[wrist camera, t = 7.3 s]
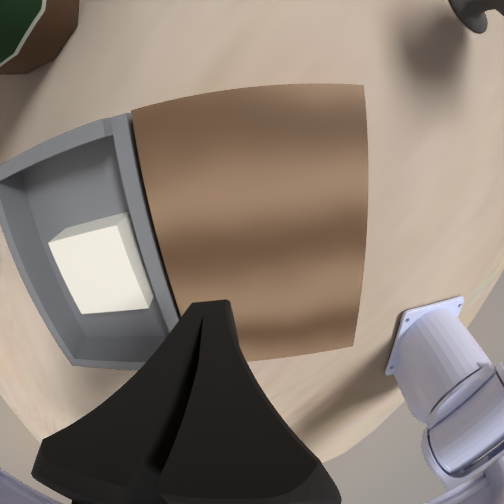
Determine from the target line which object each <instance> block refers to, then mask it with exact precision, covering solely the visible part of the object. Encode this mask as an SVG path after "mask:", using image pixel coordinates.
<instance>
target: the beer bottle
mask: <svg viewBox="0 0 504 504" xmlns="http://www.w3.org/2000/svg"><path fill="white" fill-rule="evenodd" d="M78 11H79V0H0V75H3V74H6V75H12V74H27V73H28V72H30V71H32V70H33V69H35V68H37V67H39V66H40V65H42V64H44V63H46V62H48V61H50V60H52V59H53V58H55V57H56V56H57V55H58V53H59V51H60V50H61V48H62V47H63V45H64V44H65V42H66V41H67V39H68V38H69V36H70V35H71V34H72V32H73V31H74V29H75V28H76V27H77V25H78Z"/></svg>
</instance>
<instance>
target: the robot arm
mask: <svg viewBox="0 0 504 504" xmlns="http://www.w3.org/2000/svg"><path fill="white" fill-rule="evenodd" d="M463 302H464V298H463V297H462V296H458V297H455V298H452V299H448V300H444V301H441V302H437V303H433V304H430V305H426V306H422V307H418V308H414V309H410V310H406V311H405V312H404V313H403V315H402V318H401V322H400V326H399V329H398V333H397V336H396V339H395V343H394V346H393V349H392V352H391V355H390V358H389V361H388V364H387V367H386V370H385V374H386V375H387V376H388V375H392V374H393V375H394V377H395V379H396V381H397V383H398V385H399V388H400V390H401V392H402V394H403V397H404V399H405V401H406V403H407V406H408V408H409V410H410V412H411V414H412V415H413V416H414V417H415V418H416V419H418V420H419V421H421V422H423V423H426V424H427V426H428V427H426V428H425V430H424V431H423V435H422V442H421V448H422V453H423V457H424V459H425V461H426V463H427V465H428V467H429V468H430V470H431V471H432V472H433V473H434V474H436V475H437V476H438V478H439V479H440V480H441V482H442V483H443V485H444V487H445V488H446V489H447V492H445V493H443V494H442V495H440V496H438V497H436V498H434V499H431V500H429V501H427V502H425V503H423V504H504V442H502V443H501V444H500V445H499V446H497V447H496V448H495V449H494V450H492V451H491V452H489V453H488V454H487V455H485V456H484V457H483V458H481V459H480V460H478V461H476V460H477V459H479V458H480V457H481V456H482V455H484V454H486V453H487V452H488V451H489V450H491V449H492V448H493V447H495V446H496V445H497V444H498V443H500V442H501V441H502V440H503V439H504V363H502V362H500V363H499V364H498V365H497V366H496V367H495V366H494V365H493V364H492V363H491V362H490V360H489V359H488V358H487V356H486V354H485V353H484V352H483V350H482V349H481V348H480V346H479V345H478V343H477V342H476V341H475V340H474V338H473V337H472V335H471V334H470V333H469V331H468V330H467V329H466V328H465V326H464V325H463V324H462V323H461V321H460V320H459V319H458V315H459V313H460V310H461V307H462V304H463ZM474 461H476V462H474ZM473 462H474V463H473ZM31 474H32V476H33V478H35V479H36V480H37V481H39V482H40V483H42V484H44V485H45V486H47V487H49V488H50V489H52V490H54V491H56V492H58V493H60V494H61V495H63V496H65V497H67V498H69V499H71V500H72V504H341V496H340V493H339V490H338V488H337V486H336V485H335V483H334V481H333V480H332V478H331V477H330V475H329V474H328V472H327V471H326V469H325V468H324V466H323V465H322V463H321V461H320V460H319V459H318V458H317V457H316V456H315V455H314V454H313V453H312V452H311V451H310V450H309V449H308V448H307V446H306V445H305V444H304V443H303V442H302V441H301V440H300V439H299V438H298V437H297V436H296V434H295V433H294V432H293V431H292V430H291V429H290V427H289V426H288V425H287V424H286V423H285V421H284V420H283V419H282V417H281V416H280V415H279V413H278V412H277V411H276V409H275V408H274V406H273V405H272V404H271V402H270V401H269V400H268V398H267V397H266V395H265V393H264V392H263V390H262V389H261V387H260V386H259V384H258V382H257V380H256V379H255V377H254V375H253V373H252V372H251V370H250V368H249V366H248V364H247V362H246V360H245V357H244V355H243V353H242V351H241V348H240V346H239V339H238V334H237V330H236V325H235V321H234V316H233V311H232V307H231V302H230V301H229V300H227V299H224V300H214V301H204V302H194V303H191V305H190V306H189V307H188V308H187V310H186V311H185V313H184V314H183V315H182V317H181V318H180V319H179V321H178V322H177V324H176V325H175V326H174V328H173V329H172V330H171V332H170V333H169V334H168V336H167V337H166V338H165V340H164V341H163V342H162V344H161V345H160V346H159V347H158V349H157V350H156V351H155V352H154V353H153V355H152V356H151V357H150V358H149V359H148V361H147V362H146V363H145V364H144V365H143V366H142V367H141V368H140V369H139V371H138V372H137V373H136V374H135V375H134V376H133V377H132V378H131V379H130V380H129V381H127V382H126V383H125V384H124V385H123V386H122V387H121V388H120V389H119V390H118V391H116V392H115V393H114V394H113V395H112V396H110V397H109V398H108V399H107V400H106V401H104V402H103V403H102V404H101V405H99V406H98V407H97V408H95V409H94V410H93V411H91V412H90V413H88V414H87V415H85V416H84V417H82V418H81V419H79V420H78V421H76V422H75V423H73V424H71V425H70V426H68V427H66V428H64V429H62V430H60V431H58V432H57V433H55V434H53V435H51V436H49V437H47V438H45V439H43V440H42V443H41V446H40V449H39V451H38V454H37V457H36V460H35V463H34V466H33V469H32V472H31ZM0 504H62V503H60V502H58V501H56V500H54V499H52V498H50V497H48V496H46V495H44V494H42V493H40V492H38V491H37V490H35V489H33V488H31V487H29V486H28V485H26V484H24V483H23V482H21V481H19V480H18V479H16V478H15V477H13V476H12V475H10V474H9V473H7V472H6V471H4V470H3V469H1V468H0Z"/></svg>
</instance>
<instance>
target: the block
mask: <svg viewBox="0 0 504 504" xmlns="http://www.w3.org/2000/svg"><path fill="white" fill-rule="evenodd" d="M48 244H49V247H50V249H51V252H52V254H53V256H54V259H55V261H56V263H57V266H58V268H59V270H60V272H61V274H62V276H63V279H64V281H65V283H66V285H67V287H68V289H69V291H70V293H71V295H72V297H73V299H74V301H75V303H76V304H77V306H78V308H79V310H80V312H81V314H89V313H102V312H114V311H125V310H136V309H146V308H149V306H150V304H151V302H152V299H153V297H154V294H155V292H154V289H153V286H152V284H151V281H150V278H149V275H148V272H147V269H146V266H145V262H144V259H143V256H142V253H141V250H140V246H139V243H138V240H137V236H136V233H135V229H134V225H133V222H132V218H131V214H130V212H125V213H121V214H117V215H113V216H109V217H105V218H101V219H98V220H94V221H90V222H86V223H83V224H79V225H76V226H72V227H69V228H65V229H64V230H63V231H62V232H60V233H59V234H58V235H57V236H56V237H54V238H53V239H52V240H51V241H50V242H48Z"/></svg>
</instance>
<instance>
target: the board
mask: <svg viewBox="0 0 504 504" xmlns="http://www.w3.org/2000/svg"><path fill="white" fill-rule="evenodd" d="M131 114H132V120H133V127H134V133H135V139H136V144H137V150H138V155H139V160H140V165H141V170H142V175H143V180H144V185H145V189H146V194H147V198H148V202H149V206H150V211H151V215H152V219H153V223H154V227H155V231H156V234H157V238H158V242H159V246H160V249H161V253H162V256H163V260H164V263H165V267H166V270H167V273H168V277H169V280H170V283H171V286H172V290H173V293H174V296H175V299H176V302H177V305H178V308H179V311H180V314H181V317H182V315H183V314H184V313H185V311H186V310H187V308H188V307H189V306H190V305H191V303H194V302H204V301H214V300H224V299H227V300H229V301H230V302H231V307H232V311H233V316H234V321H235V325H236V330H237V334H238V339H239V346H240V348H241V351H242V353H243V355H244V357H245V360H246V362H248V361H258V360H267V359H276V358H284V357H291V356H298V355H305V354H311V353H318V352H324V351H329V350H335V349H340V348H345V347H350V346H353V343H354V337H355V331H356V325H357V318H358V312H359V305H360V297H361V289H362V280H363V271H364V260H365V248H366V234H367V214H368V139H367V120H366V106H365V95H364V85H351V84H287V85H271V86H259V87H248V88H240V89H232V90H224V91H218V92H211V93H205V94H200V95H194V96H189V97H184V98H179V99H175V100H170V101H166V102H162V103H157V104H153V105H150V106H146V107H142V108H138V109H135V110H131Z"/></svg>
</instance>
